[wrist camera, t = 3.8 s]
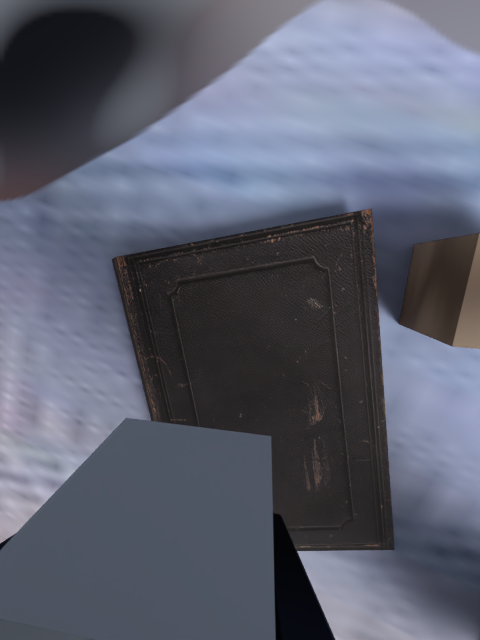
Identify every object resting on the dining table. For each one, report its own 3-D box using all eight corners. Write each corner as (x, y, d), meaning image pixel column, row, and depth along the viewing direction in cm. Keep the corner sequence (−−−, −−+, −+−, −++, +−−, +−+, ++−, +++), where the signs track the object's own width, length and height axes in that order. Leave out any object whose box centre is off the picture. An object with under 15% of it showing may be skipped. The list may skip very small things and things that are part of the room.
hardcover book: (357, 216, 16) (372, 208, 14) (380, 519, 20) (394, 550, 18) (125, 260, 18) (105, 258, 16) (188, 524, 22) (179, 552, 20)
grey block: (259, 556, 9) (249, 875, 4) (130, 533, 10) (-10, 801, 5) (271, 436, 8) (276, 678, 3) (126, 417, 9) (-55, 606, 4)
